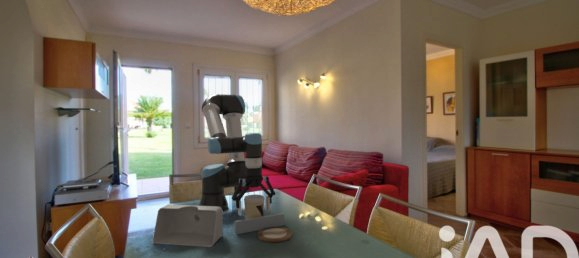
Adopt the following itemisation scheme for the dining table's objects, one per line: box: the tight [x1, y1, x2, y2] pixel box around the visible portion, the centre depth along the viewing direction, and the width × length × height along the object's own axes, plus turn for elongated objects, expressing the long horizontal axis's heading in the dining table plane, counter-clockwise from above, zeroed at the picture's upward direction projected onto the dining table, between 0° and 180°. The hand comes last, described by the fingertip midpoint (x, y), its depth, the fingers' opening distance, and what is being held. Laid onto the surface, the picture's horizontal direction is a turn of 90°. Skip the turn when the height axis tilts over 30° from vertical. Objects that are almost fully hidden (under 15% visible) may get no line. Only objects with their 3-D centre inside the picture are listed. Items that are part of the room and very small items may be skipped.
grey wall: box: [234, 212, 285, 235], centre depth 119 cm, size 2×22×5 cm, turn 116°
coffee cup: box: [243, 194, 265, 219], centre depth 127 cm, size 9×9×12 cm
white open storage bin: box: [152, 204, 224, 248], centre depth 112 cm, size 25×16×12 cm, turn 81°
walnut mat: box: [257, 226, 293, 244], centre depth 113 cm, size 14×14×1 cm
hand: (254, 213), depth 126 cm, fingers open, 13 cm apart
